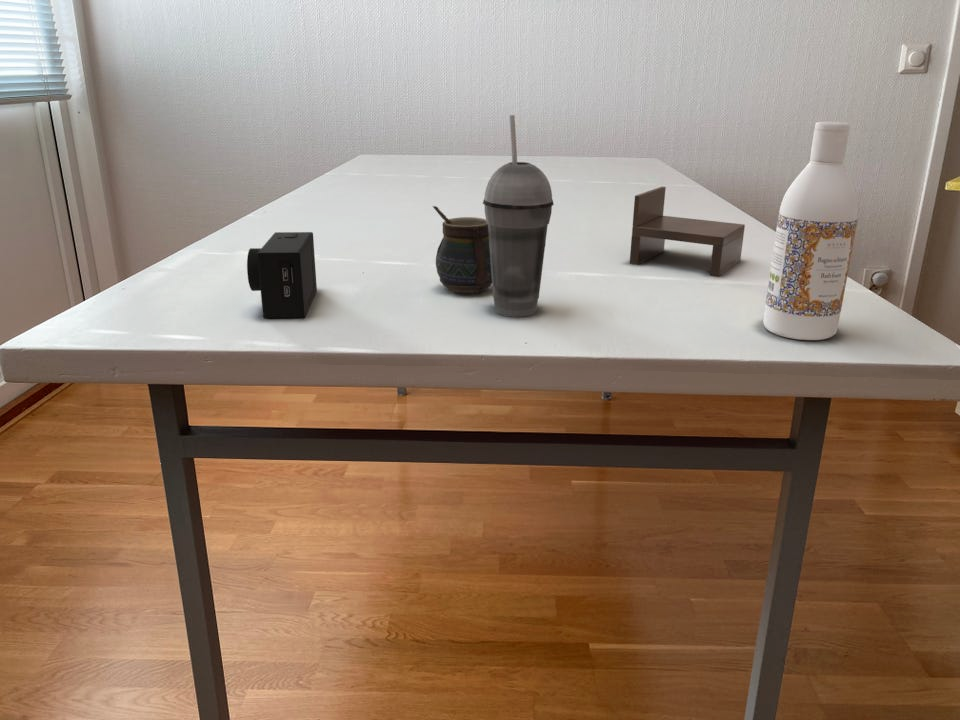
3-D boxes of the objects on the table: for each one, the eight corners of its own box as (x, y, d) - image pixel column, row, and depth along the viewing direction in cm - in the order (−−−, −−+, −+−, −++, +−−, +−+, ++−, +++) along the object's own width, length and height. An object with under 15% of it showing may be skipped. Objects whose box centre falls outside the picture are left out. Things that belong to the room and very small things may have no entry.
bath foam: (787, 344, 74) (822, 125, 67) (749, 322, 80) (777, 120, 73) (851, 339, 75) (892, 125, 68) (809, 318, 82) (842, 119, 75)
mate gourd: (509, 292, 90) (512, 205, 87) (453, 301, 86) (453, 211, 83) (477, 278, 96) (477, 196, 92) (422, 286, 92) (421, 201, 88)
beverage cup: (514, 325, 79) (519, 119, 71) (467, 309, 84) (468, 115, 77) (563, 311, 83) (573, 116, 76) (516, 297, 88) (521, 112, 81)
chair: (740, 261, 106) (749, 194, 103) (718, 276, 98) (727, 204, 95) (656, 249, 112) (661, 186, 108) (629, 263, 104) (634, 195, 101)
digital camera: (269, 291, 90) (263, 231, 87) (317, 291, 90) (313, 230, 87) (251, 319, 80) (244, 252, 77) (304, 318, 80) (299, 251, 78)
